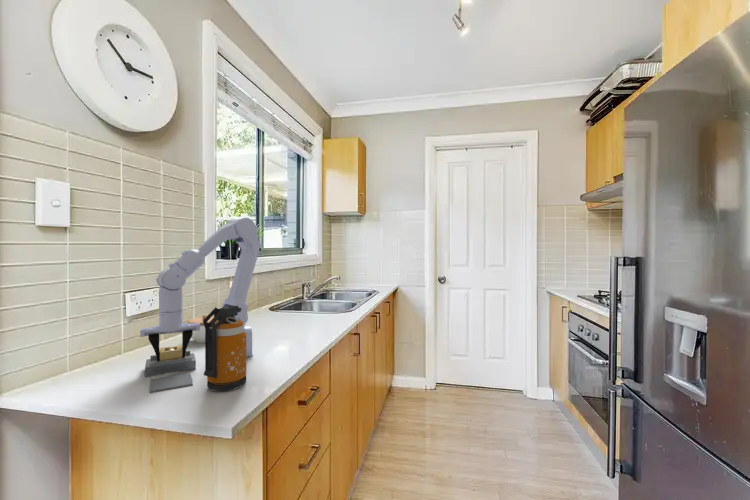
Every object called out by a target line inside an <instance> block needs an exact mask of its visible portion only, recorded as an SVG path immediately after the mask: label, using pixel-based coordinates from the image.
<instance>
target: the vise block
mask: <svg viewBox="0 0 750 500" xmlns="http://www.w3.org/2000/svg"><path fill="white" fill-rule="evenodd" d="M169 350H175V349H168V350H167V351H169ZM196 364H197V361H196V357H195V353H193V352H192V353H191V350H189V349H188V350H186V352H185V358H178V359H171V360H164V361H157V357H156V354H153V355H150V358H149V359H146V361H145V366H144V378H149V377H155V376H160V375H169V374H174V373H180V372H187V371H193V370H196V369H197V368H196V367H197V365H196Z"/></svg>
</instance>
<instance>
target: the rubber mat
mask: <svg viewBox="0 0 750 500" xmlns="http://www.w3.org/2000/svg"><path fill="white" fill-rule="evenodd" d="M193 383H194V382H193V378H192V373H191V372H185V373H180V374H172V375H167V376H162V377H155V378H151V379H150V388H149V393H150V394H151V393H152V394H153V393H156V392H157V393H158V392H161V391H167V390H173V389H179V388H180V389H181V388H184V387H185V388H186V387H190V386H193V385H194V384H193Z"/></svg>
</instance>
